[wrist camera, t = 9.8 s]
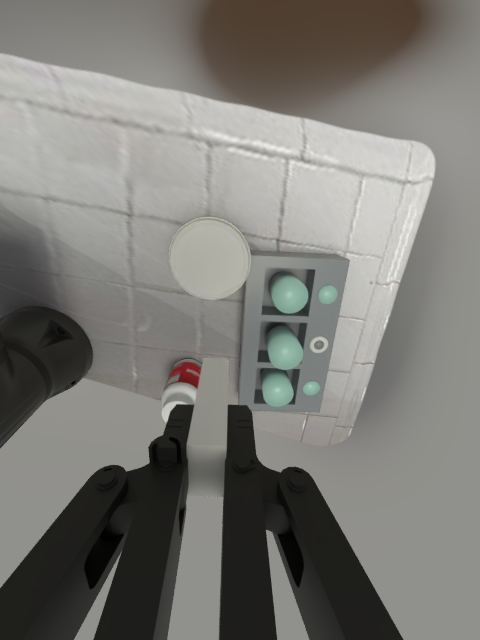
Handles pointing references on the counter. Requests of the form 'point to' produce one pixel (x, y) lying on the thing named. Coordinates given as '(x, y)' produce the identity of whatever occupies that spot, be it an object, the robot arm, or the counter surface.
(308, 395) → the board
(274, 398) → the button
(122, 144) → the counter surface
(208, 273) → the coffee cup
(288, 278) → the button
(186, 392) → the pill bottle
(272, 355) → the button
